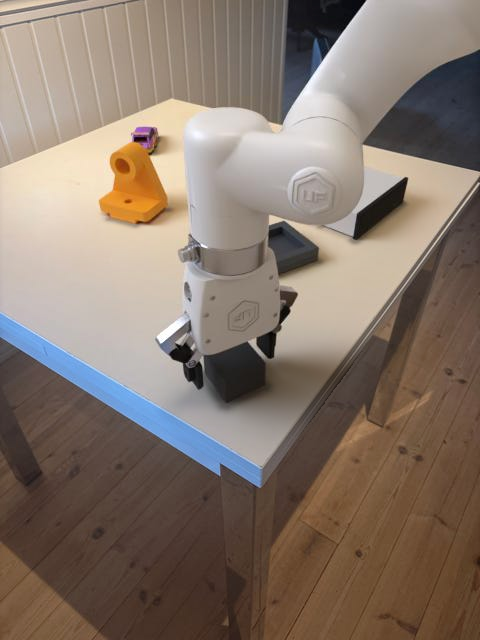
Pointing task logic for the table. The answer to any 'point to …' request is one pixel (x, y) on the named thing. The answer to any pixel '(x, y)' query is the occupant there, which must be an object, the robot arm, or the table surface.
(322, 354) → the table surface
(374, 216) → the disc drive
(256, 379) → the black block
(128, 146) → the bracket
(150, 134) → the toy car
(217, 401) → the table surface
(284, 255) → the base pad
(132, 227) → the table surface
